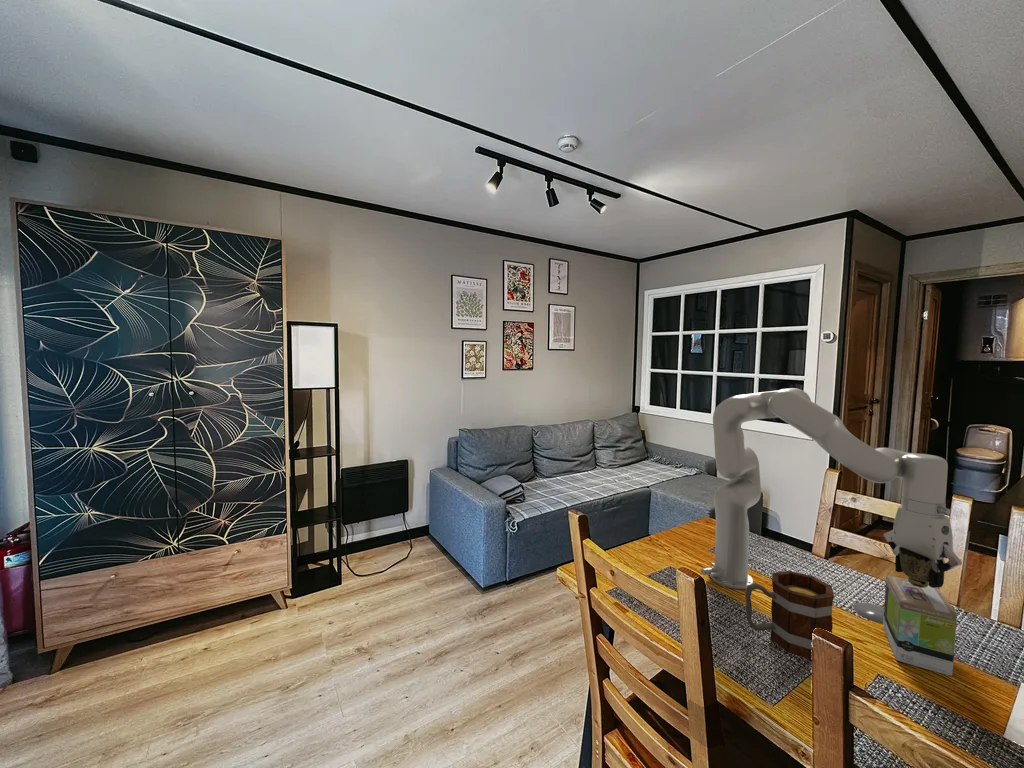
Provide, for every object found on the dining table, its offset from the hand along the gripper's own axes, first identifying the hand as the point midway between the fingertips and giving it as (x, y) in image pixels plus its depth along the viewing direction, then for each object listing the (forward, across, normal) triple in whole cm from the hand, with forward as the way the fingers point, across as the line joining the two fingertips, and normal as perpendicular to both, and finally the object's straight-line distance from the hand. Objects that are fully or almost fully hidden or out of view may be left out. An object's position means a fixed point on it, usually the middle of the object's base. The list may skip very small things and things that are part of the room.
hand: (918, 578), depth 103 cm
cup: (+2, 0, 0) cm, 2 cm away
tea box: (+18, 0, 0) cm, 18 cm away
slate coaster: (+18, +14, -6) cm, 24 cm away
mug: (+18, +9, +28) cm, 35 cm away
